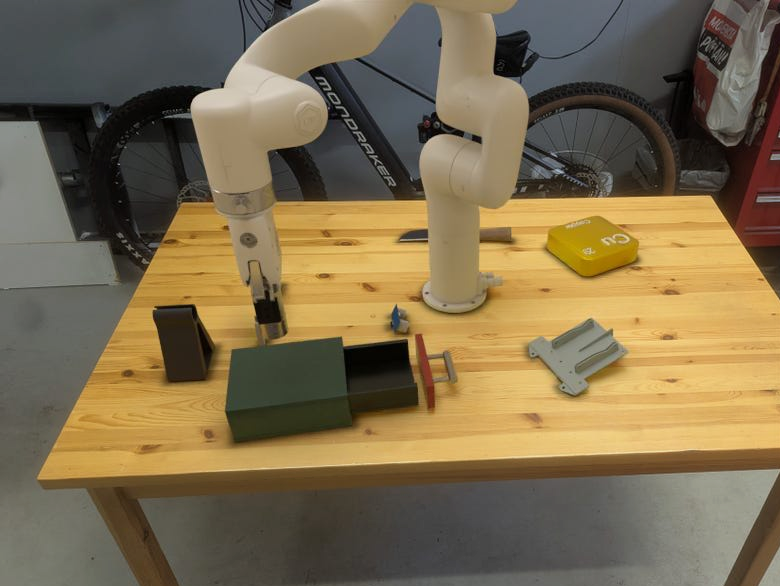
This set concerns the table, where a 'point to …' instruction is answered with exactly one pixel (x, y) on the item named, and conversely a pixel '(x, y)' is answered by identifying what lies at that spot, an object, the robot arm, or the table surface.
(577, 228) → the element tile
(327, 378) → the cabinet
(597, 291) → the table surface
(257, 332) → the grey bent bar
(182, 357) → the phone stand
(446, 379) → the drawer
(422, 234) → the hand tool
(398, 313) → the ultrasonic sensor
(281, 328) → the tin
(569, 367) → the metal bracket
